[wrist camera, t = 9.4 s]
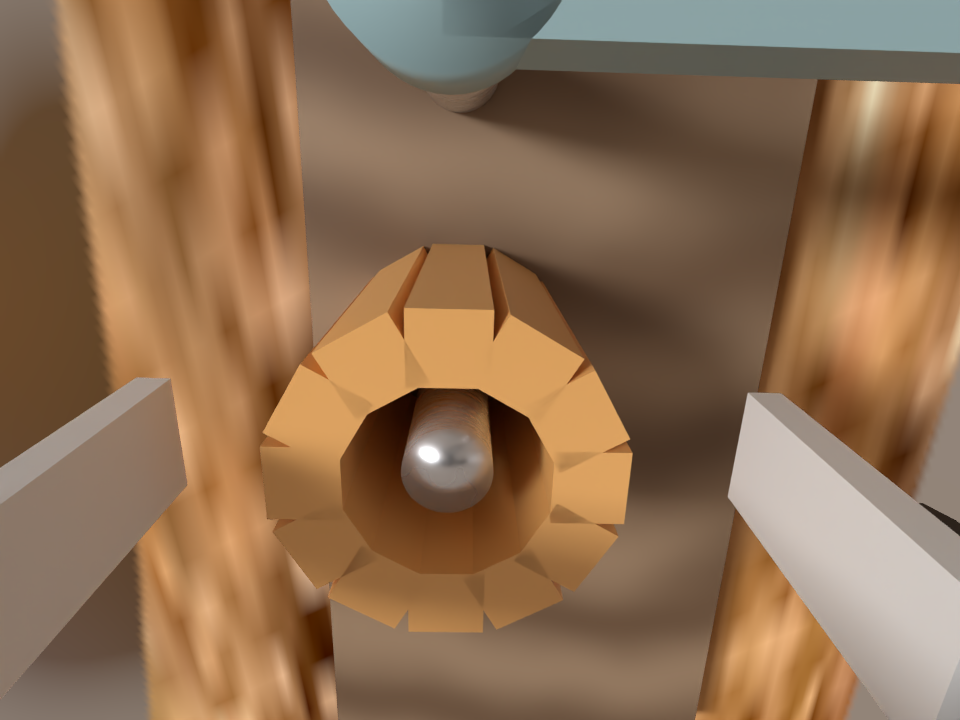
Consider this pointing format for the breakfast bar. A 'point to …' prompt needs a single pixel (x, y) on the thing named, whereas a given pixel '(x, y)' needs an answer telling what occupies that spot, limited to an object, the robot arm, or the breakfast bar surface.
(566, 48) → the bar
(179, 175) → the breakfast bar surface
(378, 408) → the collar
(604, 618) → the plate
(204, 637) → the breakfast bar surface
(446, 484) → the silver metal piece
